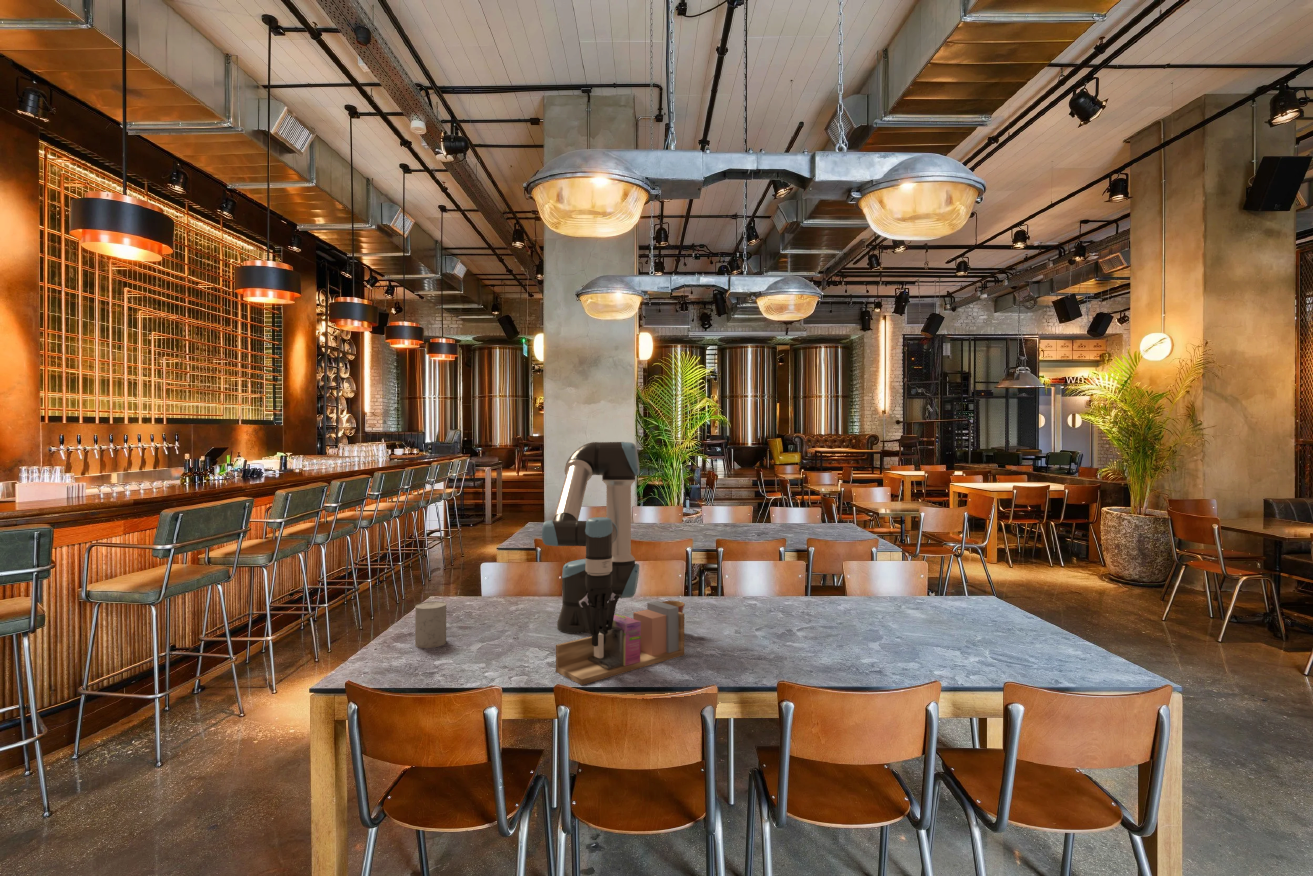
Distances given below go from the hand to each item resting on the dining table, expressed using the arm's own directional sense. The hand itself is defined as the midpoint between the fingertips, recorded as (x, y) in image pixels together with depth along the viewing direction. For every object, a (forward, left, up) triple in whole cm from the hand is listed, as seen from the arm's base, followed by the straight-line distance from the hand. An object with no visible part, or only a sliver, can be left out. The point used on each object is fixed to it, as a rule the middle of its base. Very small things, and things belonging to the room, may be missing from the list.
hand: (598, 656), depth 176 cm
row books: (0, +21, -2) cm, 21 cm away
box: (+1, +8, -3) cm, 8 cm away
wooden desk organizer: (0, +9, -4) cm, 10 cm away
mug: (-11, +37, -4) cm, 39 cm away
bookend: (0, +2, -2) cm, 3 cm away
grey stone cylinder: (-55, -27, -4) cm, 61 cm away
